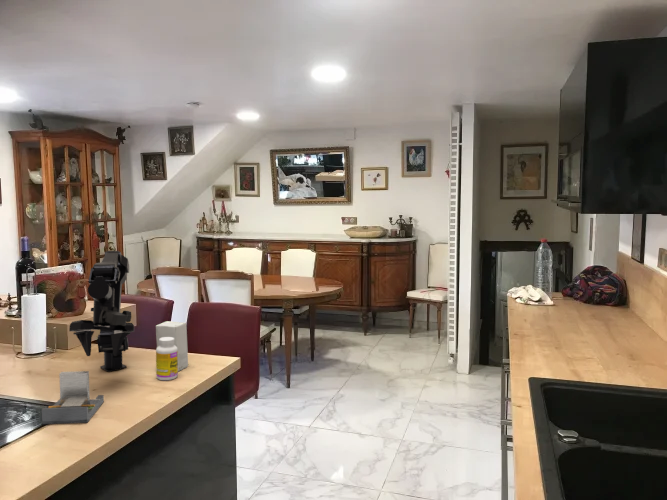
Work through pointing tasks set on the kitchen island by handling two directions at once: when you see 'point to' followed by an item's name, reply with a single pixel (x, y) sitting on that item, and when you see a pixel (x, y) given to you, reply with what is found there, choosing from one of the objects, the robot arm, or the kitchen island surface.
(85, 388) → the block
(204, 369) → the kitchen island surface
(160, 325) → the skincare box
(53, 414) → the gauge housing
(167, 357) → the supplement bottle
